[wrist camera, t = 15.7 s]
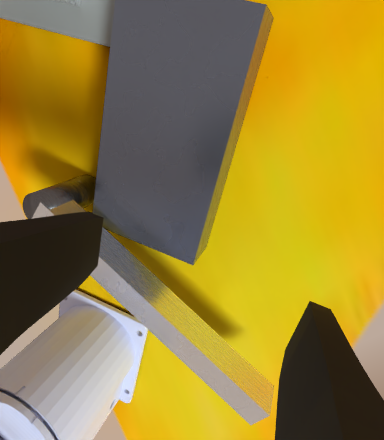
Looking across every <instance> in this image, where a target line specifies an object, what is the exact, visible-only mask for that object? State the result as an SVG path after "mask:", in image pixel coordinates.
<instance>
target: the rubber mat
mask: <svg viewBox="0 0 384 440" xmlns="http://www.w3.org/2000/svg"><path fill="white" fill-rule="evenodd" d="M114 7H115V0H80V7H79V6H75V5H71V4H67V3H62V2H58V1H54V0H0V18H3V19H6V20H10V21H14V22H18V23H21V24H25V25H29V26H33V27H37V28H40V29H44V30H48V31H52V32H56V33H59V34H63V35H67V36H71V37H74V38H78V39H82V40H86V41H90V42H93V43H97V44H101V45H105V46H109V47H110V44H111V35H112V25H113V16H114Z"/></svg>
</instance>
